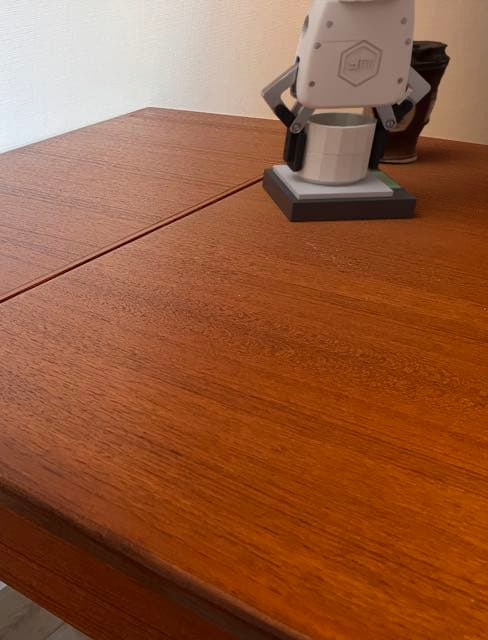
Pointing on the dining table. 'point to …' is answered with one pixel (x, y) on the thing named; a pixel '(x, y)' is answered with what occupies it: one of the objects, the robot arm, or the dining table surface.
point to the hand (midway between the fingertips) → (331, 165)
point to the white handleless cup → (337, 147)
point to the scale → (338, 197)
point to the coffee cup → (404, 135)
